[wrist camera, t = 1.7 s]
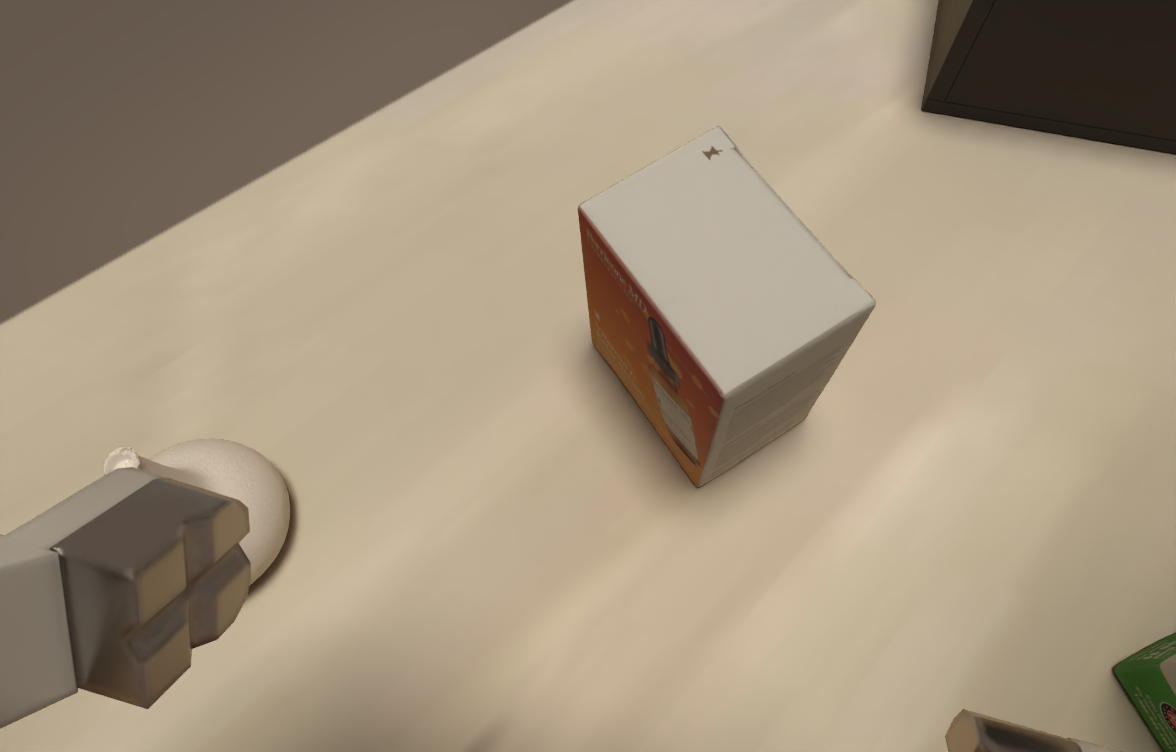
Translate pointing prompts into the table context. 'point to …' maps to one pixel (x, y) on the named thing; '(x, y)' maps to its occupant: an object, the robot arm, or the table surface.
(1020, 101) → the trash bin
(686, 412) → the small box
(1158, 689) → the ink box
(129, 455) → the garlic bulb
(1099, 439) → the table surface
